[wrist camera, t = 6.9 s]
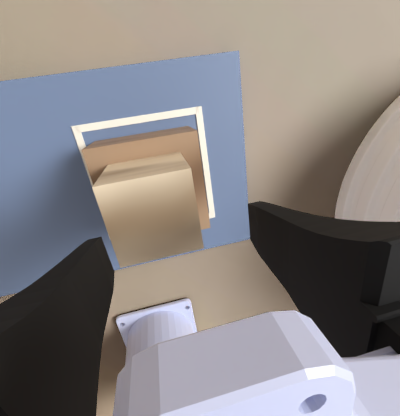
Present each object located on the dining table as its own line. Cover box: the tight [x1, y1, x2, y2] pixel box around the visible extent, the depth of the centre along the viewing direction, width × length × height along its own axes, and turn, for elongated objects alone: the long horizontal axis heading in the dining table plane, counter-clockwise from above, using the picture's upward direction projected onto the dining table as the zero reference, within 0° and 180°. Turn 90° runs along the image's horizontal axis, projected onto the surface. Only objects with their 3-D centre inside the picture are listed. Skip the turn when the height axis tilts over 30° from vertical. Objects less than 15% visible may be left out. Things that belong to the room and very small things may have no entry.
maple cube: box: [92, 152, 204, 268], centre depth 14 cm, size 4×4×4 cm
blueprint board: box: [0, 51, 250, 297], centre depth 19 cm, size 16×28×1 cm, turn 98°
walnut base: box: [82, 126, 210, 230], centre depth 18 cm, size 7×7×4 cm
